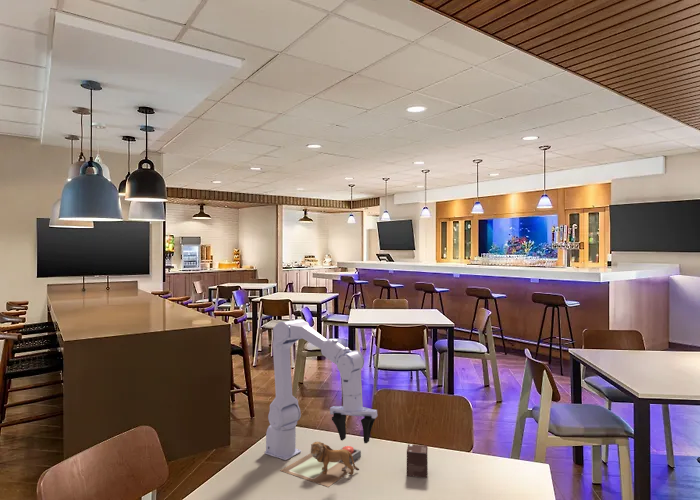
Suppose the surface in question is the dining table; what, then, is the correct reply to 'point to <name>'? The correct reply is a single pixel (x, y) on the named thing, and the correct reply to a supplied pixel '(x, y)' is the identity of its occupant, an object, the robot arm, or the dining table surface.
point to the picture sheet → (317, 470)
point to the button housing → (355, 455)
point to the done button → (349, 449)
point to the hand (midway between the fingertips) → (354, 440)
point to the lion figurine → (331, 456)
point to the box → (417, 461)
